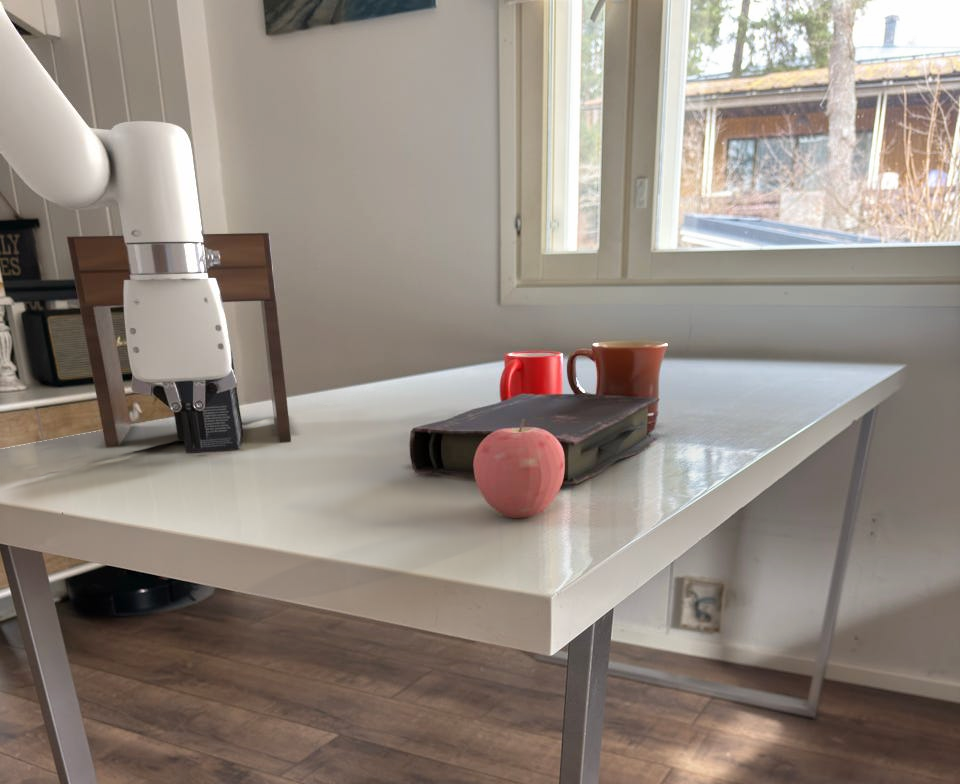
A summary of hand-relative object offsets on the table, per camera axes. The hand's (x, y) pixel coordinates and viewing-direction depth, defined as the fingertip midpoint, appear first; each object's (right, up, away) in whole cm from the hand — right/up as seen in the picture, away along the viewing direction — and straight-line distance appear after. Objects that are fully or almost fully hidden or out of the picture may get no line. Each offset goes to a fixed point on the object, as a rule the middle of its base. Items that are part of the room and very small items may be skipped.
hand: (194, 446), depth 97 cm
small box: (-1, +3, +11) cm, 11 cm away
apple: (+35, -11, -22) cm, 42 cm away
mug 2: (+47, +4, +12) cm, 49 cm away
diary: (+38, -2, -1) cm, 38 cm away
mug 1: (+37, +9, +25) cm, 46 cm away
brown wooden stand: (-4, +4, +15) cm, 16 cm away
